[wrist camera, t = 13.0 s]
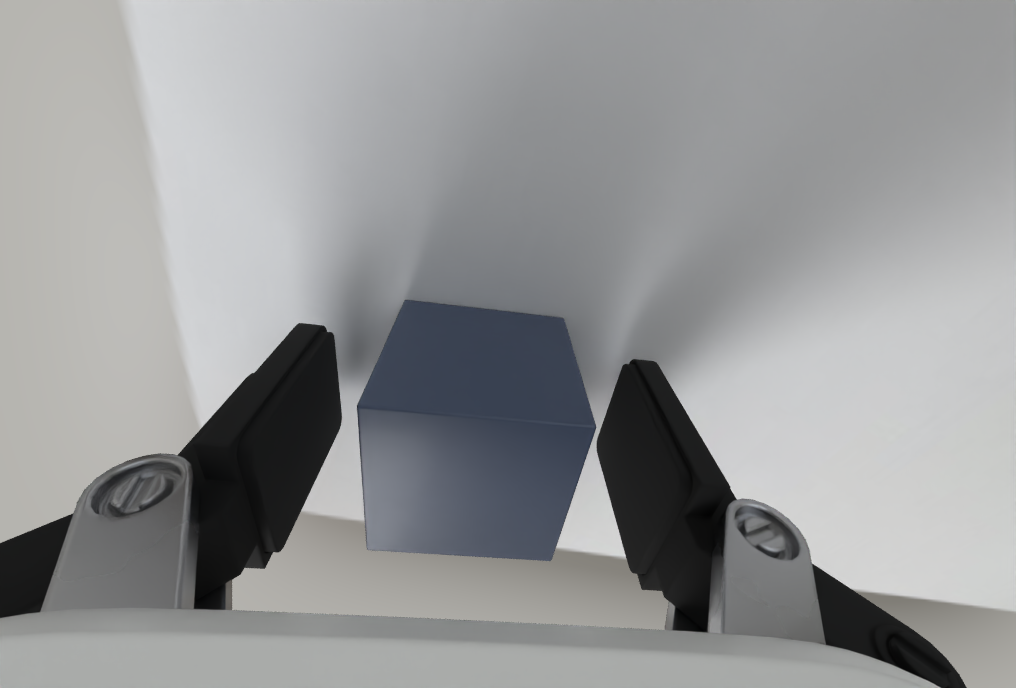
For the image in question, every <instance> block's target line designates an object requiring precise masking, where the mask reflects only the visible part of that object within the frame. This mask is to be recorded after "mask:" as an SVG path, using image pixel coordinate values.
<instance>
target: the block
mask: <svg viewBox="0 0 1016 688" xmlns="http://www.w3.org/2000/svg"><path fill="white" fill-rule="evenodd" d="M357 413H358V427H359V442H360V457H361V471H362V486H363V500H364V515H365V528H366V543H367V549H368V550H374V551H391V552H408V553H425V554H442V555H460V556H475V557H492V558H509V559H526V560H543V561H551V560H552V557H553V554H554V551H555V549H556V546H557V543H558V540H559V537H560V534H561V531H562V528H563V525H564V522H565V519H566V516H567V513H568V510H569V507H570V504H571V501H572V498H573V495H574V492H575V489H576V486H577V483H578V480H579V477H580V474H581V471H582V468H583V465H584V462H585V459H586V456H587V453H588V451H589V448H590V445H591V442H592V439H593V436H594V433H595V430H596V425H595V421H594V418H593V415H592V411H591V408H590V404H589V401H588V398H587V394H586V391H585V388H584V384H583V381H582V377H581V374H580V371H579V367H578V364H577V361H576V357H575V354H574V350H573V347H572V344H571V340H570V337H569V334H568V330H567V327H566V324H565V320H564V318H559V317H550V316H541V315H533V314H524V313H515V312H507V311H498V310H489V309H480V308H472V307H463V306H454V305H446V304H437V303H428V302H419V301H411V300H405V301H404V303H403V305H402V307H401V309H400V312H399V314H398V316H397V318H396V321H395V323H394V325H393V327H392V329H391V332H390V334H389V336H388V338H387V341H386V343H385V345H384V347H383V349H382V352H381V354H380V356H379V358H378V361H377V363H376V365H375V367H374V369H373V372H372V374H371V376H370V378H369V380H368V383H367V385H366V387H365V389H364V392H363V394H362V396H361V398H360V400H359V403H358V405H357Z"/></svg>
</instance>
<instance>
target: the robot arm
mask: <svg viewBox="0 0 1016 688" xmlns="http://www.w3.org/2000/svg"><path fill="white" fill-rule="evenodd" d="M341 420H342V413H341V403H340V392H339V382H338V371H337V360H336V350H335V339H334V335H333V333H332V332H327V330H326V327H325V326H322V325H312V324H303V323H299V324H297V325H296V326H295V327H294V328H293V330H292V331H291V332H290V333H289V334H288V335H287V336H286V338H285V339H284V340H283V341H282V342H281V343H280V344H279V346H278V347H277V348H276V349H275V350H274V351H273V352H272V354H271V355H270V356H269V357H268V358H267V359H266V360H265V362H264V363H263V364H262V365H261V366H260V367H259V368H258V370H257V371H256V372H255V373H252V374H250V375H249V376H248V377H247V378H246V379H245V380H244V381H243V382H242V383H241V384H240V386H239V387H238V388H237V389H236V390H235V391H234V392H233V393H232V395H231V396H230V397H229V398H228V399H227V400H226V401H225V402H224V404H223V405H222V406H221V407H220V408H219V409H218V410H217V411H216V413H215V414H214V415H213V416H212V417H211V418H210V419H209V420H208V422H207V423H206V424H205V425H204V426H203V427H202V428H201V429H200V431H199V432H198V433H197V434H196V435H195V436H194V437H193V438H192V440H191V441H190V442H189V443H188V444H187V445H186V446H185V447H184V449H183V450H182V451H181V452H180V453H179V454H178V455H174V454H153V455H146V456H142V457H138V458H135V459H132V460H129V461H126V462H124V463H122V464H119V465H117V466H115V467H113V468H111V469H110V470H108V471H106V472H105V473H103V474H102V475H100V476H99V477H97V478H96V479H95V480H94V481H93V482H92V483H91V484H90V485H89V486H88V487H87V488H86V489H85V490H84V491H83V493H82V495H81V497H80V498H79V500H78V502H77V505H76V508H75V511H74V513H73V514H71V515H68V516H66V517H63V518H61V519H59V520H56V521H54V522H51V523H49V524H46V525H44V526H41V527H39V528H36V529H34V530H32V531H29V532H27V533H24V534H22V535H19V536H17V537H14V538H12V539H10V540H7V541H5V542H2V543H0V688H966V686H965V684H964V682H963V680H962V679H961V677H960V675H959V674H958V673H957V671H956V670H955V669H954V668H953V666H952V665H951V664H950V662H949V661H948V660H947V659H946V658H945V657H944V656H943V655H942V654H941V653H940V652H939V651H938V650H937V649H936V648H935V647H934V646H933V645H932V644H931V643H930V642H929V641H927V640H926V639H924V638H923V637H922V636H920V635H919V634H918V633H917V632H915V631H914V630H912V629H911V628H909V627H908V626H906V625H905V624H903V623H902V622H900V621H898V620H897V619H895V618H894V617H893V616H891V615H890V614H888V613H886V612H885V611H883V610H882V609H881V608H879V607H877V606H876V605H874V604H873V603H871V602H870V601H868V600H867V599H865V598H864V597H862V596H861V595H859V594H858V593H856V592H855V591H853V590H852V589H850V588H849V587H847V586H846V585H844V584H843V583H841V582H839V581H838V580H836V579H835V578H833V577H832V576H830V575H829V574H827V573H826V572H824V571H823V570H821V569H820V568H818V567H817V566H815V565H814V564H812V562H811V556H810V550H809V548H808V545H807V542H806V539H805V538H804V537H803V535H802V534H801V532H800V531H799V529H798V528H797V527H796V526H795V525H794V524H793V523H792V522H791V521H790V520H789V519H788V518H787V517H785V516H784V515H783V514H781V513H780V512H779V511H777V510H776V509H774V508H772V507H770V506H768V505H766V504H764V503H761V502H758V501H755V500H751V499H739V500H737V499H736V498H735V496H734V494H733V493H732V491H731V489H730V486H729V484H728V482H727V480H726V479H725V477H724V475H723V474H722V472H721V470H720V469H719V467H718V465H717V464H716V462H715V460H714V458H713V457H712V455H711V453H710V452H709V450H708V448H707V447H706V445H705V443H704V442H703V440H702V438H701V437H700V435H699V433H698V431H697V430H696V428H695V426H694V425H693V423H692V421H691V420H690V418H689V416H688V415H687V413H686V411H685V410H684V408H683V406H682V404H681V403H680V401H679V399H678V398H677V396H676V394H675V393H674V391H673V389H672V388H671V386H670V384H669V382H668V381H667V379H666V377H665V376H664V374H663V372H662V371H661V369H660V367H659V366H658V364H657V363H656V362H654V361H646V360H637V359H633V360H632V361H631V362H630V363H629V364H624V365H623V367H622V369H621V372H620V375H619V378H618V381H617V384H616V387H615V389H614V392H613V395H612V398H611V401H610V404H609V407H608V410H607V413H606V416H605V418H604V421H603V424H602V427H601V430H600V433H599V436H598V439H597V453H598V457H599V461H600V464H601V468H602V471H603V475H604V479H605V482H606V486H607V489H608V493H609V497H610V500H611V504H612V507H613V511H614V515H615V518H616V522H617V526H618V529H619V533H620V536H621V540H622V544H623V547H624V551H625V554H626V558H627V561H628V565H629V568H630V570H631V572H632V573H636V574H637V575H638V578H639V582H640V585H641V588H642V590H657V591H662V592H663V595H664V597H665V598H666V599H667V600H668V601H669V603H668V610H667V617H666V625H665V630H652V629H634V628H633V629H632V628H613V627H596V626H577V625H576V626H575V625H557V624H536V623H514V622H494V621H471V620H451V619H429V618H407V617H406V618H405V617H384V616H360V615H337V614H312V613H287V612H263V611H239V610H232V579H234V578H235V577H237V576H239V575H240V574H241V572H242V571H243V569H244V568H260V569H265V567H266V565H267V563H268V561H269V559H270V557H271V555H272V553H273V552H280V551H281V550H282V549H283V547H284V545H285V543H286V541H287V539H288V537H289V535H290V533H291V531H292V528H293V526H294V524H295V522H296V520H297V518H298V516H299V514H300V512H301V509H302V507H303V505H304V503H305V501H306V499H307V497H308V495H309V493H310V491H311V488H312V486H313V484H314V482H315V480H316V478H317V476H318V474H319V472H320V469H321V467H322V465H323V463H324V461H325V459H326V457H327V455H328V453H329V450H330V448H331V446H332V444H333V442H334V440H335V438H336V436H337V434H338V431H339V429H340V426H341Z"/></svg>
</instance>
